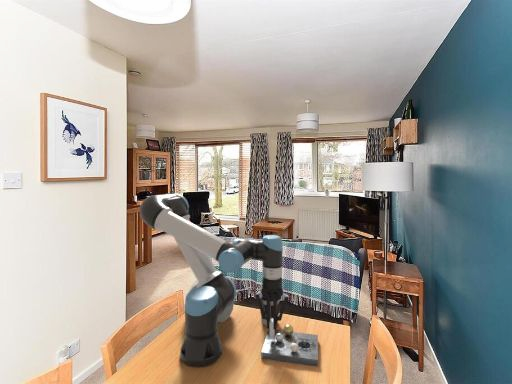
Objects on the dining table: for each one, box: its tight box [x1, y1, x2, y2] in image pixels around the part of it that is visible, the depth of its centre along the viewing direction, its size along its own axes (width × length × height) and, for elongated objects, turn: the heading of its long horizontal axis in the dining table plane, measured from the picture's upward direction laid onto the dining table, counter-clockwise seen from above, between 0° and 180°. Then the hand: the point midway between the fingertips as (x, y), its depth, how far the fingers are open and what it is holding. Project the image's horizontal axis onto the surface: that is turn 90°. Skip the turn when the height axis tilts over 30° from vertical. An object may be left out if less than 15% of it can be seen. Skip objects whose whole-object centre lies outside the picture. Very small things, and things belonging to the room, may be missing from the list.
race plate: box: [260, 329, 319, 368], centre depth 112 cm, size 20×16×2 cm
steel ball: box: [275, 333, 283, 342], centre depth 113 cm, size 3×3×3 cm
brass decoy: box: [282, 324, 294, 336], centre depth 118 cm, size 4×4×4 cm
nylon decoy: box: [290, 343, 298, 352], centre depth 107 cm, size 3×3×3 cm
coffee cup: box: [260, 295, 282, 327], centre depth 131 cm, size 10×10×15 cm
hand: (271, 336), depth 113 cm, fingers closed
